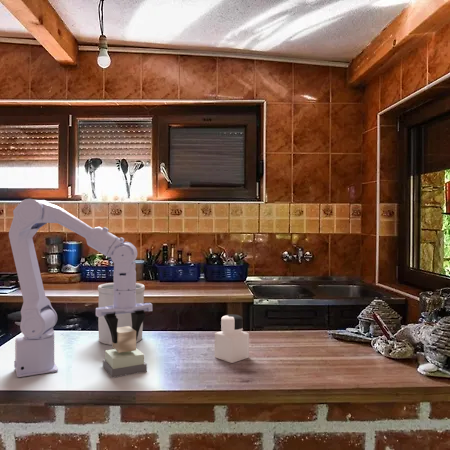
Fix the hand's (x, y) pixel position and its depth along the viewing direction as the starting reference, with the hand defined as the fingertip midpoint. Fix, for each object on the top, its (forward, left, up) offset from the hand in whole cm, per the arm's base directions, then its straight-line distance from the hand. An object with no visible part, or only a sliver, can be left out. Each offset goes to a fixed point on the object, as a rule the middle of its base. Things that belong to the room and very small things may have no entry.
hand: (124, 341), depth 116 cm
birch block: (0, 0, -2) cm, 2 cm away
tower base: (0, 0, -8) cm, 8 cm away
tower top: (0, 0, -6) cm, 6 cm away
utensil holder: (+7, +28, -8) cm, 30 cm away
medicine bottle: (+30, -5, -8) cm, 31 cm away
